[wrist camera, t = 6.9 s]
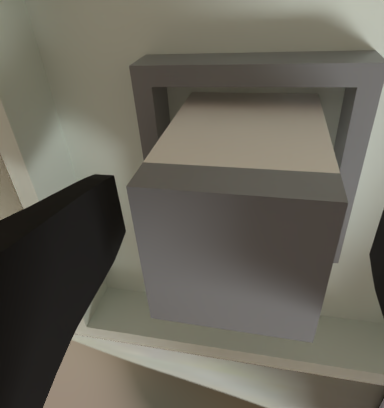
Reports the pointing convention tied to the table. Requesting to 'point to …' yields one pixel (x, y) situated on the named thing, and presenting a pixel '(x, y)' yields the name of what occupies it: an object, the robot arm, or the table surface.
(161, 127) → the walled box
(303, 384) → the table surface
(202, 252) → the tan and grey block
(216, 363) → the table surface
